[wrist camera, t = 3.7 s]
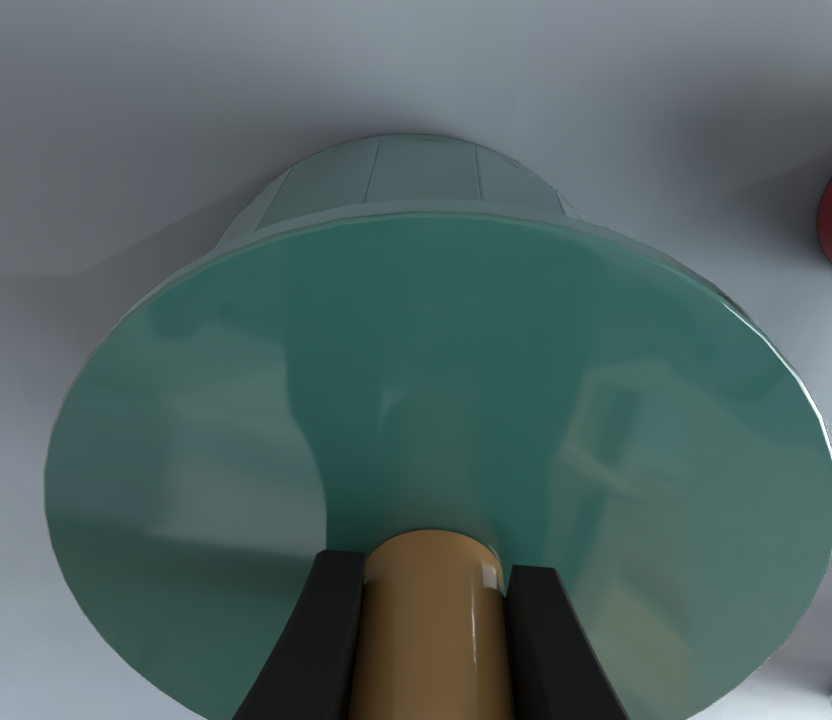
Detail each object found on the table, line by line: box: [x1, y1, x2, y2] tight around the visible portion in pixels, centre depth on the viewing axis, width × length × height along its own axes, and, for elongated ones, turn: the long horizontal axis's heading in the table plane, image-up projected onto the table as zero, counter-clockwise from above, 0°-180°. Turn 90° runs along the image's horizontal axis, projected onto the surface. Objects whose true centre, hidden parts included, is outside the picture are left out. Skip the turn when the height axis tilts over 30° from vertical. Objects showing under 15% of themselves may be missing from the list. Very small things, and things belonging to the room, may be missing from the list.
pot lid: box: [44, 199, 832, 720], centre depth 10 cm, size 12×12×5 cm
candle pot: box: [213, 134, 581, 250], centre depth 18 cm, size 11×11×6 cm
